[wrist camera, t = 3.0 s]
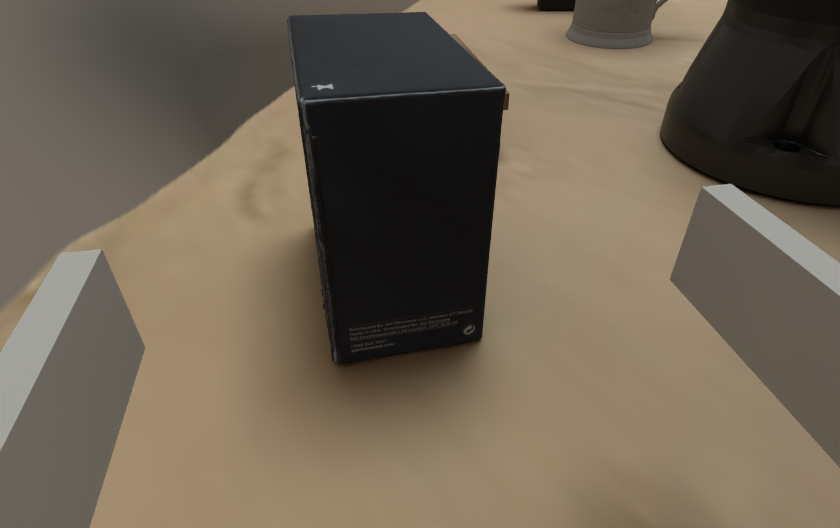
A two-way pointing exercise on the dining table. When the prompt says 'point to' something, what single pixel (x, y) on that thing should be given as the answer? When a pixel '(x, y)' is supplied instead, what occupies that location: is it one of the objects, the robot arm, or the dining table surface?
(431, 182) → the small box
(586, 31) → the glass holder
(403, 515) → the dining table surface
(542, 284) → the dining table surface
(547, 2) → the magazine
